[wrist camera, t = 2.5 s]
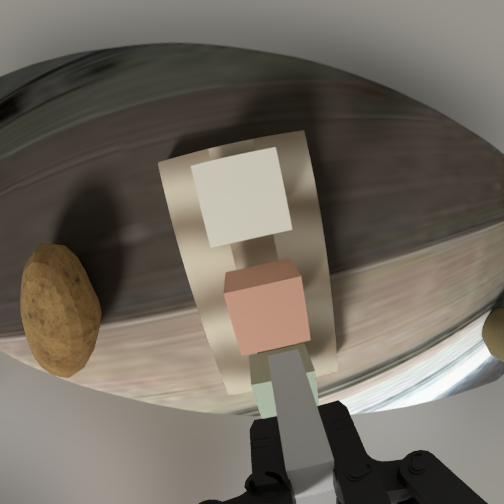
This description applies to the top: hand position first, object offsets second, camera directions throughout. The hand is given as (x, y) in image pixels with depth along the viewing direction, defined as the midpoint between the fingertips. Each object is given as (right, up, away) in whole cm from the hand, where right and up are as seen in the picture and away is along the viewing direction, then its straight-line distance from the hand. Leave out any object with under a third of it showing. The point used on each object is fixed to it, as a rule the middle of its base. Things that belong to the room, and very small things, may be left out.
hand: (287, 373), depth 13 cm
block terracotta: (-1, +3, +11) cm, 12 cm away
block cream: (-3, +11, +9) cm, 14 cm away
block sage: (+1, -4, +13) cm, 14 cm away
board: (-1, +4, +13) cm, 14 cm away
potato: (-21, +1, +13) cm, 25 cm away
